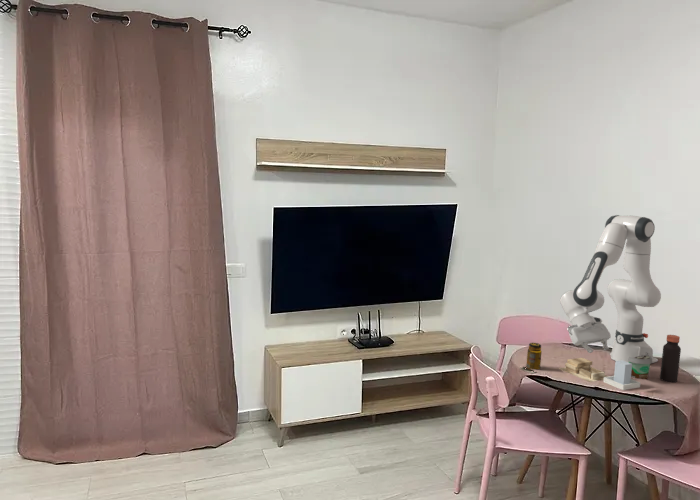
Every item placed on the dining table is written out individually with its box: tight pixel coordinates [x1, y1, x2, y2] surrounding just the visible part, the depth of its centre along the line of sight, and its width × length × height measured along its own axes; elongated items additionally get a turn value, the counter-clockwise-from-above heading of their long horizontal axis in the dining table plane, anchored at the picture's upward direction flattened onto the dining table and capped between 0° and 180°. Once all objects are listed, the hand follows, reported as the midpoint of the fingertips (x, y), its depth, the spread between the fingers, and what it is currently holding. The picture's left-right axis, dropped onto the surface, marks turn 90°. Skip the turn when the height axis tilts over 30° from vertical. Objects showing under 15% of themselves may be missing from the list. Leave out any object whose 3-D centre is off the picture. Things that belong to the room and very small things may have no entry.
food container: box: [628, 354, 653, 381], centre depth 255 cm, size 12×6×10 cm, turn 117°
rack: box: [558, 366, 609, 383], centre depth 257 cm, size 14×18×4 cm
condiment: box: [519, 342, 542, 374], centre depth 262 cm, size 7×8×12 cm
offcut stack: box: [564, 357, 593, 373], centre depth 261 cm, size 10×6×4 cm, turn 114°
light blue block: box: [613, 360, 632, 385], centre depth 244 cm, size 4×5×10 cm
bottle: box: [659, 334, 682, 383], centre depth 254 cm, size 7×7×20 cm
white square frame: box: [602, 375, 641, 391], centre depth 245 cm, size 10×10×3 cm
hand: (598, 350), depth 255 cm, fingers open, 8 cm apart
